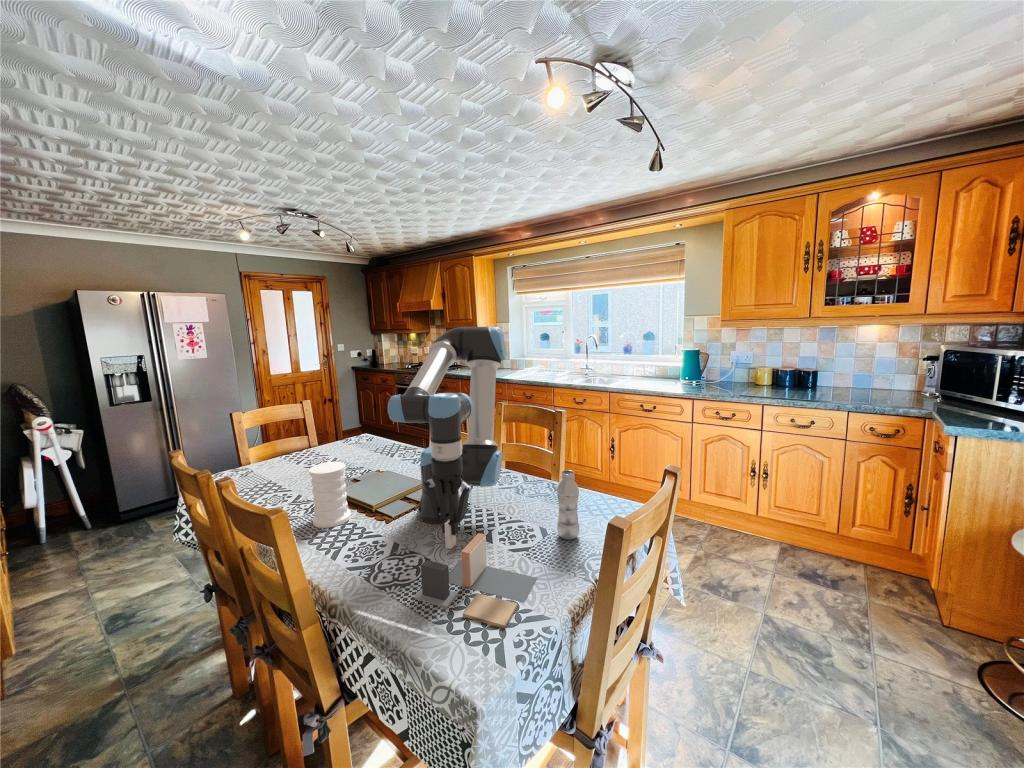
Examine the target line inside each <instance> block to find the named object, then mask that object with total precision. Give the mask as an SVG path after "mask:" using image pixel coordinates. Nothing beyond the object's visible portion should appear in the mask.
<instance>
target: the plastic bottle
mask: <svg viewBox="0 0 1024 768" xmlns="http://www.w3.org/2000/svg"><path fill="white" fill-rule="evenodd" d="M560 478H561V481H560V482H558V484H557V487H556V495H557V501H558V503H557V505H558V515H557V516H558V518H557V519H558V520H557V524H556V530H557V535H558V536H559V537H560V538H561V539H563V540H568V541H569V540H570V541H571V540H575V539H577V538H578V536H579V535H580V523H579V517H578V516H579V515H578V504H579V503H578V502H579V497H580V496H579V495H580V488H579V486H578V485H577V482H576V481H575V471H573V470H570V469H569V470H568V469H565V470H563V471H561V475H560Z"/></svg>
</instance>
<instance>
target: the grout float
mask: <svg viewBox="0 0 1024 768" xmlns="http://www.w3.org/2000/svg"><path fill="white" fill-rule="evenodd" d="M449 572H450V570H449V564H444V563H441V562H436V561H433V560H428V559H426V560H424V561H423V563H421V565H420V574H421V575H420V577H421V589H420V590H418V592H417V593H415V595H414V596H413V599H414V600H418V601H421V602H423V603H424V602H425V603H426V604H432V605H434V606H438V607H442V608H445V609H448V608H449V607H450V606H451V605H452V603H453V602H454V601H455V599H456V598H457V597H458V595H459V592H458V591H454V590H450V583H449Z"/></svg>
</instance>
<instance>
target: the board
mask: <svg viewBox="0 0 1024 768" xmlns="http://www.w3.org/2000/svg"><path fill="white" fill-rule="evenodd" d="M517 608H518V603H516V602H512V601H509V600H505V599H500V598H498V597H492V596H490V595H486V594H482V593H479V592H478V593H476V594H475V596H474V597H473V599H472V600H471V601H470V603H469V604H468V605H467V607H466V608H465V609H464V611H463V612H462V617H463V618H467V619H469V620H474V621H477V622H481V623H484V624H487V625H490V626H495V627H498V628H501V629H503V630H504V629H507V627H508V625H509V623H510V621H511V619H512V617H513V616H514V614H515V612H516V610H517Z"/></svg>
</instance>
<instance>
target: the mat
mask: <svg viewBox="0 0 1024 768" xmlns="http://www.w3.org/2000/svg"><path fill="white" fill-rule="evenodd" d="M538 579H539V577H536V576H531V575H526V574H523V573H519V572H515V571H510V570H507V569H501V568H497V567H494V566H489V565H487V567H486V568H485V569H484V570H483V572H482V573H481V574H480V576H479V577H478V578H477V580H476V581H475V582H474V583H473V585H472V586H471V587H470V588H469V587H466V586H463V578H462V559H459V560H458V562H457V563H456V564H455V565H454V566H453V567H452V568H451V569H450V570H449V585H455V586H458V587H463V588H466V589H471V590H474V591H478V592H482V593H486V594H489V595H493V596H497V597H501V598H505V599H508V600H511V601H512V600H513V601H516V602H520V603H526V601H527V599H528V597H529V595H530V593H531V592H532V589H533V588H534V587H535V586H534V585H535V584H536V582H537V580H538Z"/></svg>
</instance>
